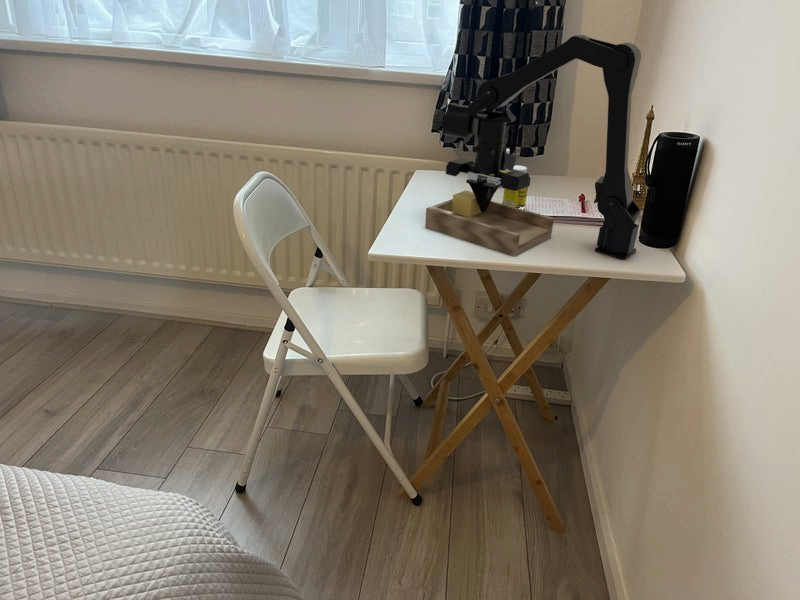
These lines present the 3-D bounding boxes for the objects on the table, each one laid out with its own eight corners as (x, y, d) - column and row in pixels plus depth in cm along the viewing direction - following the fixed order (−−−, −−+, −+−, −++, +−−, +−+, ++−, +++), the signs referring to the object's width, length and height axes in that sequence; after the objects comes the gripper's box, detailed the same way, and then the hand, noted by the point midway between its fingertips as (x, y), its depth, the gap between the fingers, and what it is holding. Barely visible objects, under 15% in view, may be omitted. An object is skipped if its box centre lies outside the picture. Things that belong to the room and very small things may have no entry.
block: (482, 212, 139) (484, 195, 137) (469, 217, 136) (471, 199, 134) (464, 207, 142) (466, 190, 140) (451, 211, 139) (453, 194, 137)
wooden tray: (550, 237, 131) (554, 216, 129) (514, 256, 121) (517, 233, 119) (464, 212, 145) (466, 192, 142) (425, 227, 134) (426, 206, 132)
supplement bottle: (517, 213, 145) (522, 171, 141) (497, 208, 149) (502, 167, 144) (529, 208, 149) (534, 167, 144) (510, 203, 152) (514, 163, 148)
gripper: (547, 143, 129) (538, 213, 136) (475, 129, 140) (469, 195, 147) (520, 151, 122) (511, 224, 129) (446, 136, 132) (442, 205, 139)
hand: (483, 211), depth 136 cm, fingers closed
